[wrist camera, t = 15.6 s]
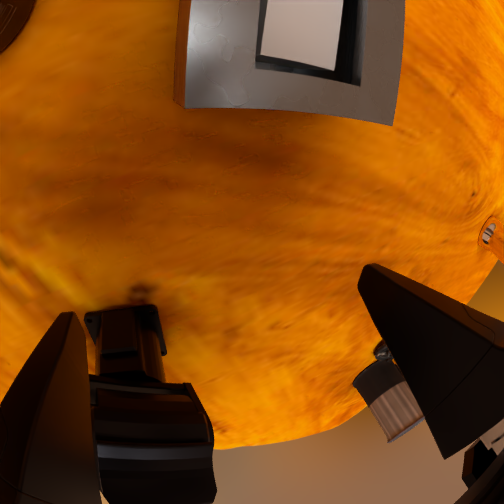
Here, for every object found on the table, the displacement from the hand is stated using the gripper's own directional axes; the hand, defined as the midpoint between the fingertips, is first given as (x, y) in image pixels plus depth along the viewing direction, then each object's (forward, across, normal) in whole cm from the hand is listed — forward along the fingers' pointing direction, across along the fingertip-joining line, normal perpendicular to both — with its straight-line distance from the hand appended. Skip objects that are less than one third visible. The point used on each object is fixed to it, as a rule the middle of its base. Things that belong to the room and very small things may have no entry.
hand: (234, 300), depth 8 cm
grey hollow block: (+12, -5, -10) cm, 16 cm away
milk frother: (+12, -32, +35) cm, 49 cm away
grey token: (+9, -5, -10) cm, 14 cm away
